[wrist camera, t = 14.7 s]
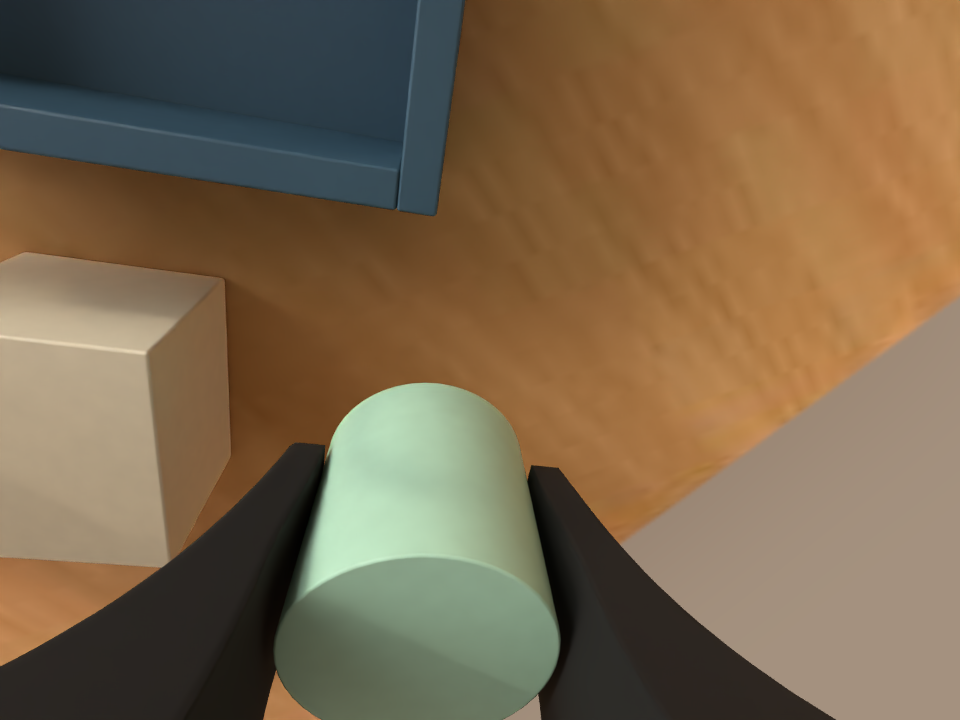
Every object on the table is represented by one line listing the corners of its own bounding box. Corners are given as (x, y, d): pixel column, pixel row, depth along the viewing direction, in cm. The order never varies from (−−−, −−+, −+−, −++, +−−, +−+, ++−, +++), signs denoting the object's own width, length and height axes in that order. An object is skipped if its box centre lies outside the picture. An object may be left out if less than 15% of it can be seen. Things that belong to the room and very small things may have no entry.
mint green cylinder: (324, 529, 14) (271, 738, 9) (333, 370, 12) (272, 544, 7) (501, 542, 14) (528, 745, 10) (539, 393, 12) (593, 567, 8)
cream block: (61, 440, 16) (-55, 555, 13) (24, 250, 14) (-138, 320, 10) (231, 456, 17) (171, 569, 13) (225, 277, 15) (148, 353, 11)
